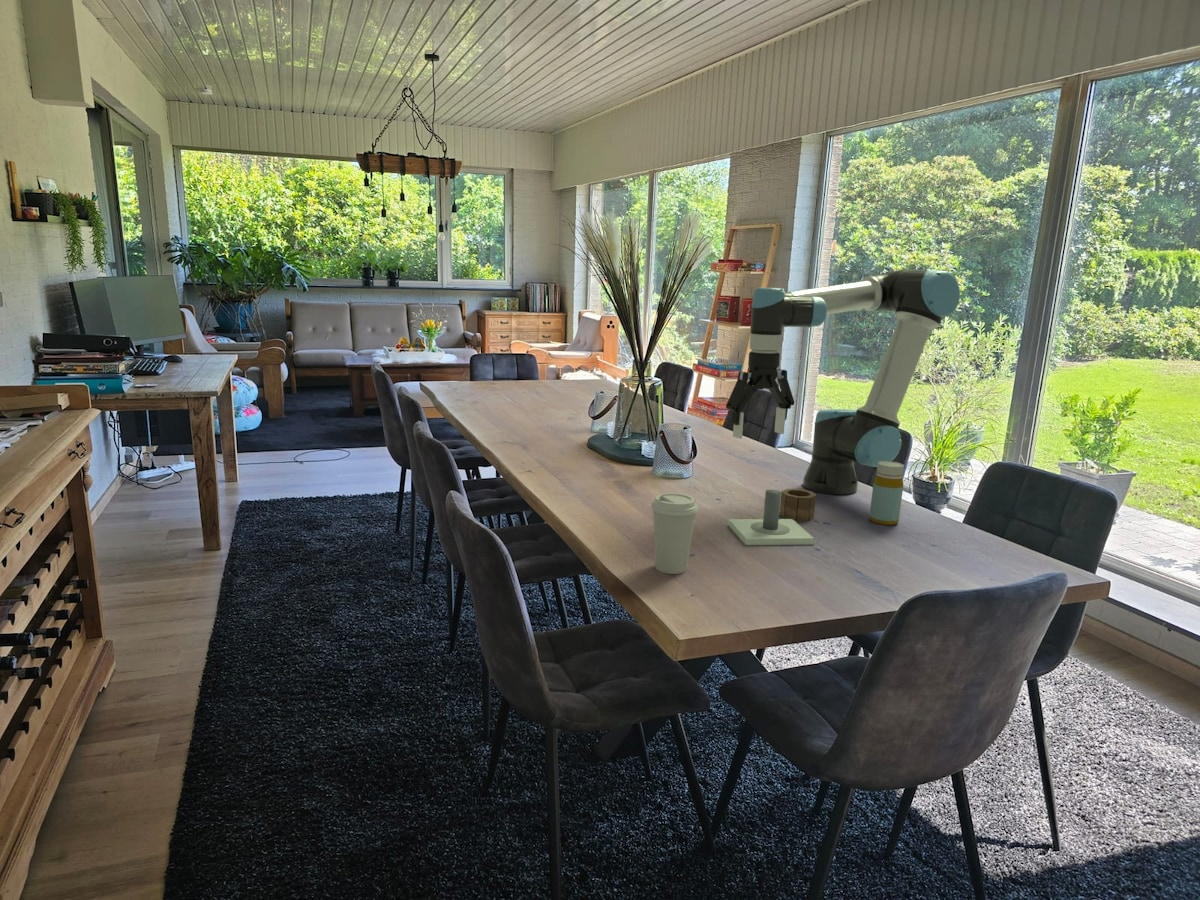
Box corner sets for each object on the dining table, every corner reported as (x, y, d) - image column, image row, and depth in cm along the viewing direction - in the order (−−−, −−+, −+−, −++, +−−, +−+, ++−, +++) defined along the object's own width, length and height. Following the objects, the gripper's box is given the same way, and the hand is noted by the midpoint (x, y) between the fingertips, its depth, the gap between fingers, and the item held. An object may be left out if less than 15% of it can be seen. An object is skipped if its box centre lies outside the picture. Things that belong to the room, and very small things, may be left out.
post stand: (791, 524, 189) (795, 483, 187) (813, 544, 176) (818, 500, 173) (728, 525, 187) (731, 483, 185) (745, 545, 174) (749, 500, 171)
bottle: (898, 519, 196) (905, 462, 193) (898, 527, 190) (906, 468, 187) (869, 515, 199) (875, 459, 195) (869, 523, 192) (875, 465, 189)
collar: (805, 510, 201) (807, 488, 199) (817, 520, 193) (820, 497, 192) (776, 511, 200) (778, 488, 198) (787, 520, 192) (789, 497, 191)
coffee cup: (644, 559, 163) (648, 491, 159) (689, 559, 164) (693, 491, 160) (651, 577, 154) (655, 505, 150) (698, 577, 154) (703, 505, 151)
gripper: (792, 348, 199) (785, 428, 204) (714, 351, 188) (710, 436, 192) (812, 351, 193) (805, 433, 198) (734, 354, 181) (728, 442, 186)
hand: (758, 435), depth 195 cm, fingers open, 13 cm apart
